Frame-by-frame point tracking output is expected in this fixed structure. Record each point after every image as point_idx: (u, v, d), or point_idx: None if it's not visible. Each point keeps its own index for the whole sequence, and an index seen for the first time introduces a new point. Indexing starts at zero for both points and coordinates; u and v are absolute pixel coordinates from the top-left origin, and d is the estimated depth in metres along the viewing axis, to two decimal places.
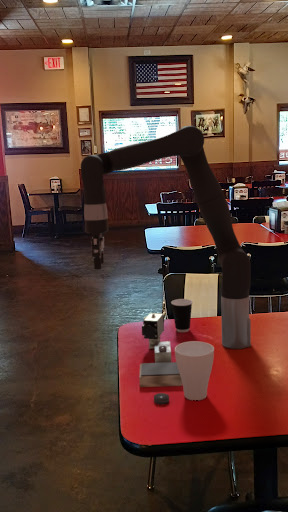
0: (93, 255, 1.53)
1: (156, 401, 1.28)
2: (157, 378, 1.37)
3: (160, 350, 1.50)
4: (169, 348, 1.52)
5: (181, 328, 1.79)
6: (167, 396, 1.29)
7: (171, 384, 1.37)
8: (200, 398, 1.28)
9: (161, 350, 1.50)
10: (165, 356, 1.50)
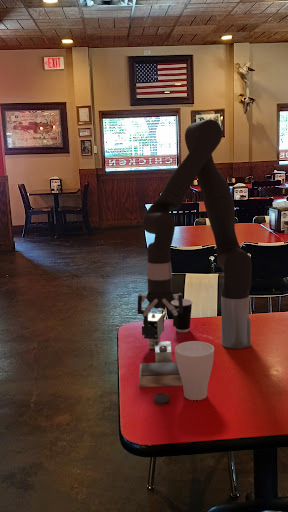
0: None
1: (156, 401, 1.28)
2: (157, 378, 1.37)
3: (160, 350, 1.50)
4: (169, 348, 1.52)
5: (181, 328, 1.79)
6: (167, 396, 1.29)
7: (171, 384, 1.37)
8: (200, 398, 1.28)
9: (161, 350, 1.50)
10: (165, 356, 1.50)
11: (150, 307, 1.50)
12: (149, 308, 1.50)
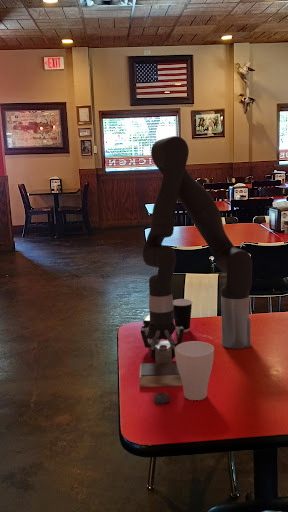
0: None
1: (155, 400, 1.28)
2: (157, 378, 1.37)
3: (161, 349, 1.50)
4: (169, 347, 1.52)
5: None
6: (167, 396, 1.29)
7: (171, 384, 1.37)
8: (200, 398, 1.28)
9: (162, 349, 1.50)
10: (166, 355, 1.50)
11: (155, 340, 1.52)
12: (154, 341, 1.52)
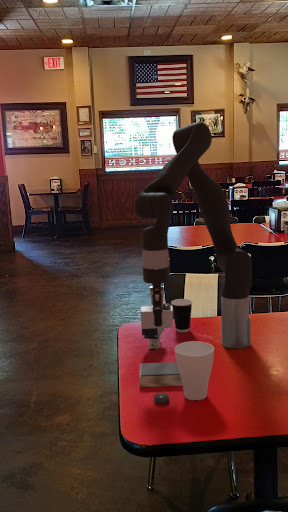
0: None
1: (155, 400, 1.28)
2: (157, 378, 1.37)
3: (169, 307, 1.37)
4: None
5: (181, 328, 1.79)
6: (167, 397, 1.28)
7: (171, 384, 1.37)
8: (200, 398, 1.28)
9: (170, 307, 1.37)
10: None
11: None
12: (163, 302, 1.35)
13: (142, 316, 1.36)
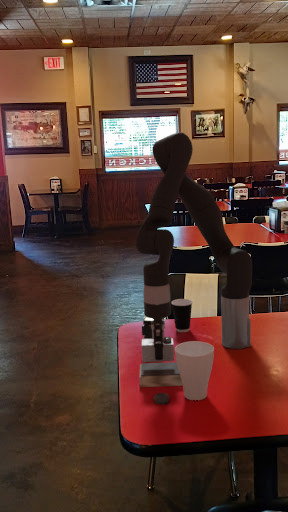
0: None
1: (154, 400, 1.28)
2: (157, 378, 1.37)
3: (170, 341, 1.39)
4: None
5: (181, 328, 1.79)
6: (167, 397, 1.28)
7: (171, 384, 1.37)
8: (200, 398, 1.28)
9: (170, 340, 1.39)
10: None
11: None
12: None
13: (143, 350, 1.38)
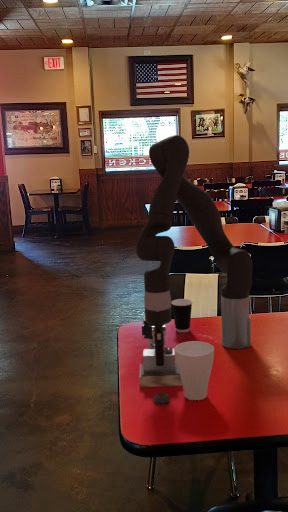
0: None
1: (154, 399, 1.29)
2: (157, 378, 1.37)
3: (171, 351, 1.40)
4: None
5: (181, 328, 1.79)
6: (166, 397, 1.28)
7: (171, 384, 1.37)
8: (200, 398, 1.28)
9: (172, 351, 1.40)
10: None
11: None
12: None
13: (144, 360, 1.38)
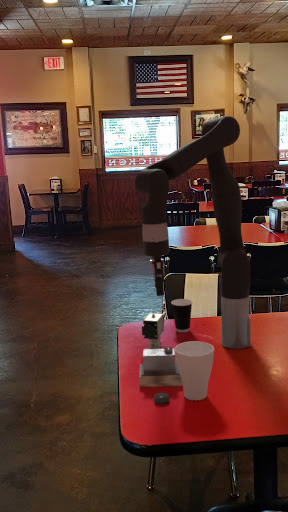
0: None
1: (154, 399, 1.29)
2: (157, 378, 1.37)
3: (171, 351, 1.40)
4: (164, 349, 1.43)
5: (181, 328, 1.79)
6: (166, 398, 1.28)
7: (171, 384, 1.37)
8: (200, 398, 1.28)
9: (172, 351, 1.40)
10: None
11: None
12: (164, 272, 1.41)
13: (144, 360, 1.38)
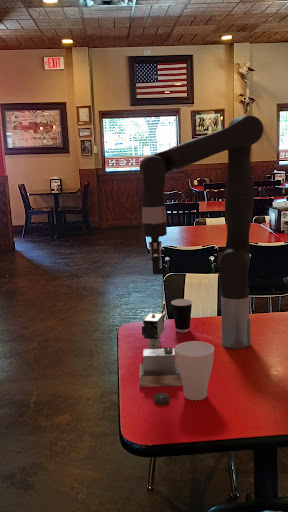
0: None
1: (154, 399, 1.29)
2: (157, 378, 1.37)
3: (171, 351, 1.40)
4: (164, 349, 1.43)
5: (181, 328, 1.79)
6: (165, 398, 1.28)
7: (171, 384, 1.37)
8: (200, 398, 1.28)
9: (172, 351, 1.40)
10: None
11: (160, 252, 1.51)
12: None
13: (144, 360, 1.38)
